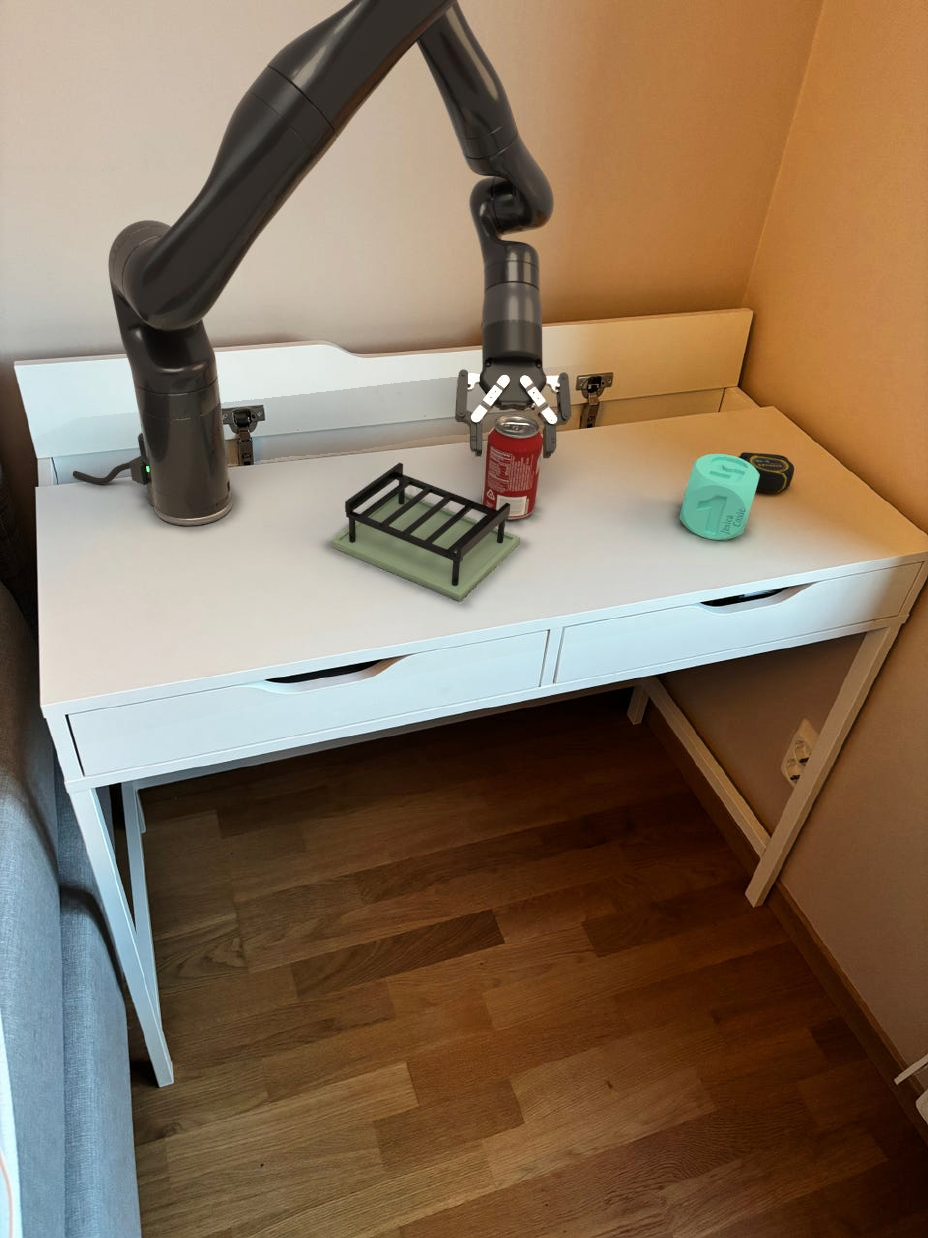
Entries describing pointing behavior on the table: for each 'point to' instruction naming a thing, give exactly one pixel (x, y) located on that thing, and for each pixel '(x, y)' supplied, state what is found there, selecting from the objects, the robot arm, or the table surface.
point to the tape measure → (770, 471)
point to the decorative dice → (719, 496)
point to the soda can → (512, 465)
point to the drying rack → (425, 516)
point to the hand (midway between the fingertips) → (513, 455)
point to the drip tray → (420, 561)
